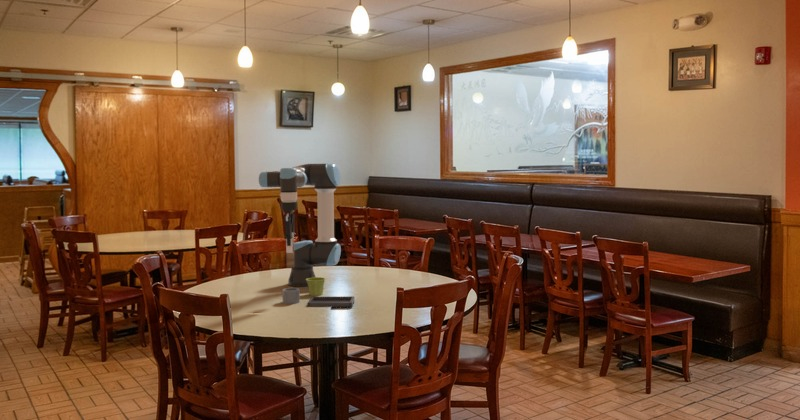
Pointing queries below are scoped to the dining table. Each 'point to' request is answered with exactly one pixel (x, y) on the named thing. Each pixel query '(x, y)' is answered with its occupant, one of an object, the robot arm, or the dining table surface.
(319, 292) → the plant pot
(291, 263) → the dowel
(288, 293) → the cup
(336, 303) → the tray
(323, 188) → the robot arm
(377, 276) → the dining table surface
